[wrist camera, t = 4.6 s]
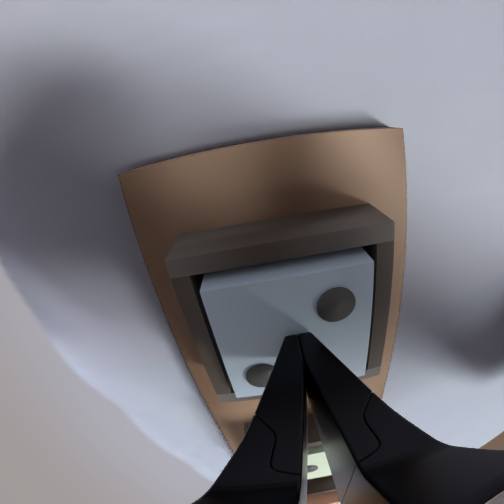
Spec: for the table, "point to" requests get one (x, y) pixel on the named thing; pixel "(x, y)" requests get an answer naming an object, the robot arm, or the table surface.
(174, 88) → the table surface
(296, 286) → the tile
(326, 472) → the tile
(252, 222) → the board
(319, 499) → the tile
